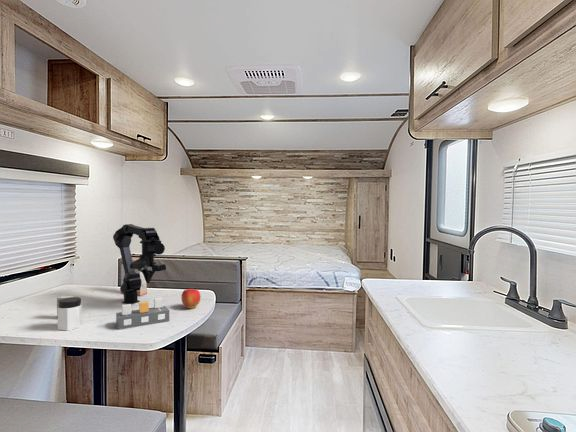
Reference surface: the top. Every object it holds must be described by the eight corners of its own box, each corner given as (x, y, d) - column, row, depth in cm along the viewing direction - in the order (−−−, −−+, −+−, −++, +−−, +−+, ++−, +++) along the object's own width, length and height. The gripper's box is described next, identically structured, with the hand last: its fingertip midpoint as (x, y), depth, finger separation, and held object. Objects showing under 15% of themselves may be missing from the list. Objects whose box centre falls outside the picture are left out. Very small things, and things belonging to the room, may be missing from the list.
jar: (78, 322, 154) (78, 295, 153) (85, 326, 149) (85, 299, 148) (54, 327, 147) (54, 299, 147) (61, 332, 142) (61, 303, 141)
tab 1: (121, 314, 150) (121, 305, 149) (130, 312, 152) (130, 303, 151) (122, 315, 148) (122, 306, 148) (131, 314, 150) (131, 304, 150)
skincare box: (74, 317, 161) (73, 295, 161) (66, 320, 157) (66, 298, 156) (64, 316, 162) (64, 295, 161) (56, 319, 157) (56, 297, 157)
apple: (200, 310, 174) (200, 290, 174) (180, 311, 172) (180, 291, 172) (200, 304, 183) (200, 286, 183) (182, 305, 181) (182, 286, 181)
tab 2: (139, 311, 153) (139, 302, 153) (147, 310, 155) (147, 301, 155) (140, 312, 152) (140, 303, 152) (148, 311, 154) (148, 302, 153)
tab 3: (154, 307, 160) (154, 298, 160) (161, 306, 162) (161, 297, 162) (154, 308, 159) (154, 299, 158) (162, 307, 161) (162, 298, 160)
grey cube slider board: (116, 323, 153) (116, 312, 153) (165, 316, 164) (165, 305, 164) (118, 329, 146) (118, 317, 146) (169, 321, 157) (169, 310, 157)
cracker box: (147, 293, 203) (147, 258, 203) (139, 296, 198) (139, 260, 197) (128, 291, 208) (128, 257, 207) (120, 293, 202) (120, 258, 201)
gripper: (121, 253, 171) (121, 284, 171) (150, 256, 164) (150, 288, 164) (138, 250, 181) (138, 280, 181) (166, 253, 174) (166, 283, 174)
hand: (147, 283), depth 175 cm, fingers closed
